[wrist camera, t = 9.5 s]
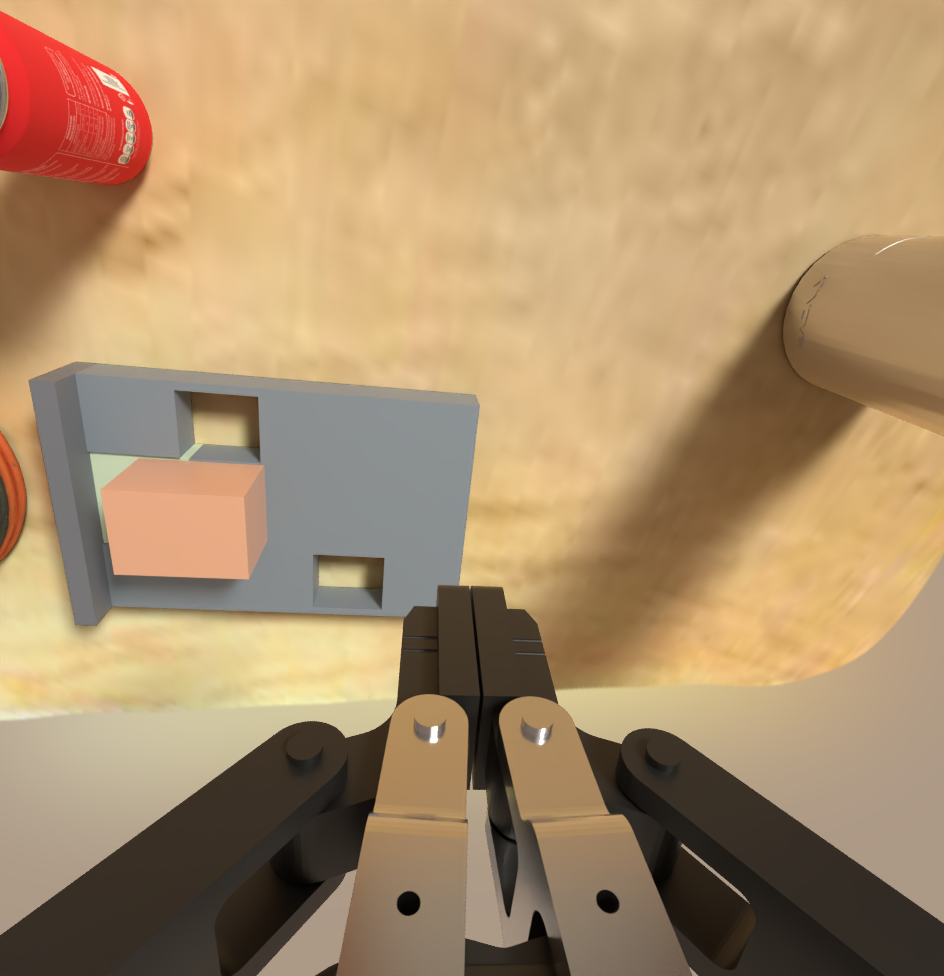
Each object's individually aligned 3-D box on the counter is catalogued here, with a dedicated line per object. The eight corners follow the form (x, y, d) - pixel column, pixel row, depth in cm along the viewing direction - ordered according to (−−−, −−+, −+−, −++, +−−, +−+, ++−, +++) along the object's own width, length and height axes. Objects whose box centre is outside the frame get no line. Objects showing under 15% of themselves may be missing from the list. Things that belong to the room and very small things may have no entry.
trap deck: (475, 394, 37) (483, 415, 32) (453, 597, 42) (456, 637, 38) (75, 361, 34) (28, 380, 30) (110, 583, 40) (75, 624, 36)
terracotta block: (264, 465, 35) (244, 497, 31) (267, 540, 37) (248, 579, 32) (138, 458, 34) (100, 489, 30) (148, 535, 36) (114, 574, 32)
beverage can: (134, 208, 31) (-19, 197, 20) (33, 140, 29) (-194, 87, 18) (179, 116, 30) (39, 50, 19) (75, 39, 28) (-144, -82, 17)
